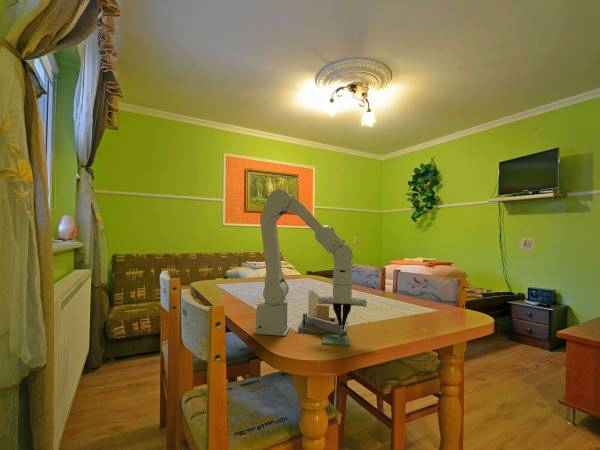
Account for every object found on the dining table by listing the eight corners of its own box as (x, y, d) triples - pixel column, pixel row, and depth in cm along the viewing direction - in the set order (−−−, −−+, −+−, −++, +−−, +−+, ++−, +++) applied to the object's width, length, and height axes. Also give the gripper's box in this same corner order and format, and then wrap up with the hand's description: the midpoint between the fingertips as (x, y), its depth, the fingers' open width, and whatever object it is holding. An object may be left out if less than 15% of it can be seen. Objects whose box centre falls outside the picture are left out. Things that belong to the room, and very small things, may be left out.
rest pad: (321, 344, 81) (321, 342, 81) (323, 335, 88) (323, 334, 88) (349, 346, 80) (349, 344, 80) (349, 337, 87) (349, 336, 87)
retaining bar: (301, 323, 95) (302, 314, 95) (304, 322, 96) (304, 313, 96) (340, 334, 85) (340, 324, 85) (343, 333, 86) (343, 323, 86)
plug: (314, 326, 96) (314, 305, 97) (316, 322, 101) (316, 301, 102) (330, 327, 95) (330, 306, 96) (330, 323, 101) (331, 302, 101)
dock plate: (298, 331, 91) (298, 328, 91) (304, 319, 105) (304, 315, 105) (346, 335, 88) (346, 331, 88) (346, 321, 102) (346, 318, 102)
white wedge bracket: (301, 313, 103) (308, 290, 107) (314, 321, 110) (321, 299, 114) (309, 315, 101) (316, 291, 105) (322, 323, 108) (329, 301, 111)
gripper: (365, 282, 91) (365, 326, 91) (319, 280, 94) (319, 323, 93) (367, 286, 84) (366, 334, 84) (317, 284, 87) (316, 330, 86)
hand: (341, 329), depth 88 cm, fingers closed
